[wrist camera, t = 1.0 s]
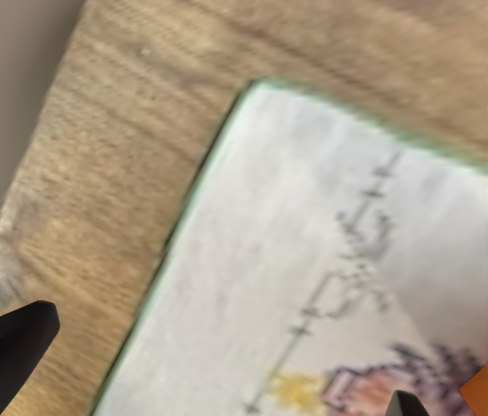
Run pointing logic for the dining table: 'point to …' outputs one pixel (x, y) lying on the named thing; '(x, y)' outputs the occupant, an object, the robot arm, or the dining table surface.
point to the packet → (477, 392)
